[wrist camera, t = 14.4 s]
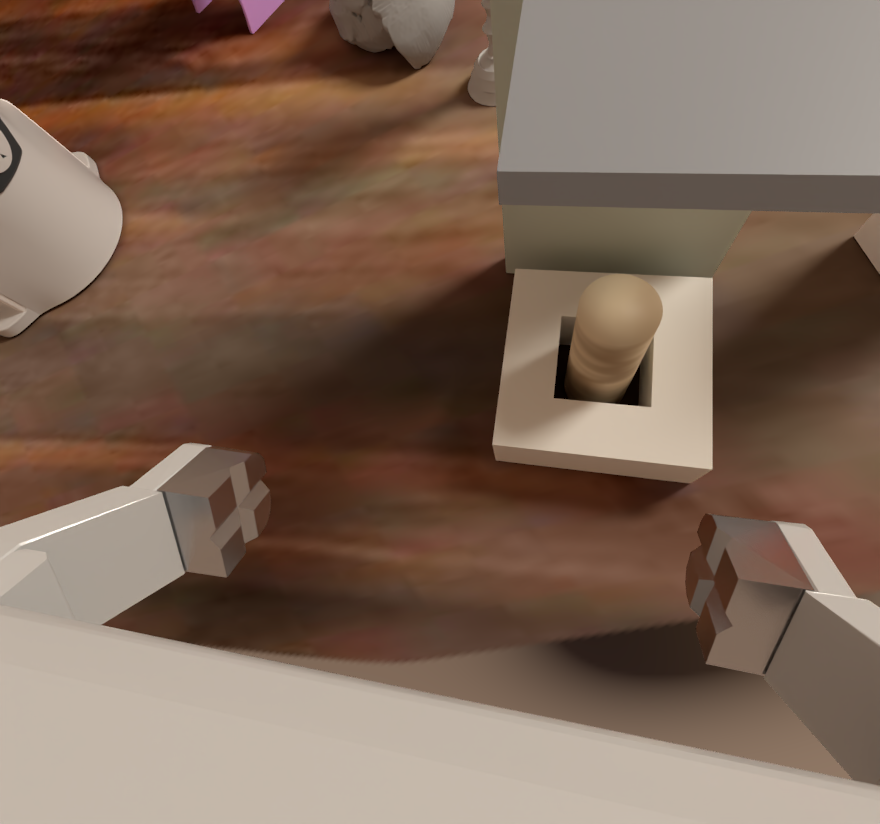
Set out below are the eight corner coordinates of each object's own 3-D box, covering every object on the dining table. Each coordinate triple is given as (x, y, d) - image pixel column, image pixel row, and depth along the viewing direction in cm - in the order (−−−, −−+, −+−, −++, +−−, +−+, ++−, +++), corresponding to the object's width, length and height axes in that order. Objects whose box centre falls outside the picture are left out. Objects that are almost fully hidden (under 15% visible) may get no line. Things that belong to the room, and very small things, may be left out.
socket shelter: (480, 458, 34) (405, 236, 13) (508, 255, 39) (487, -160, 17) (707, 485, 32) (1102, 261, 10) (708, 264, 36) (978, -215, 15)
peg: (561, 409, 35) (575, 342, 25) (566, 355, 36) (580, 272, 27) (624, 415, 34) (661, 348, 25) (627, 359, 35) (663, 275, 26)
